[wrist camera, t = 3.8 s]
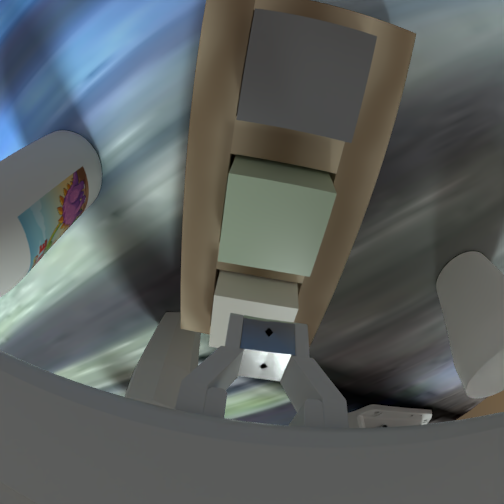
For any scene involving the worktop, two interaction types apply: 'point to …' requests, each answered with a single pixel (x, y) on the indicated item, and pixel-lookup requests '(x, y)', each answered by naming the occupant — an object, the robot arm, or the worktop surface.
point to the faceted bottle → (165, 363)
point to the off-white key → (250, 301)
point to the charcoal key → (305, 74)
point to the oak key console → (279, 152)
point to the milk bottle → (43, 199)
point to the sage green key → (275, 215)
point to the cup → (474, 321)
